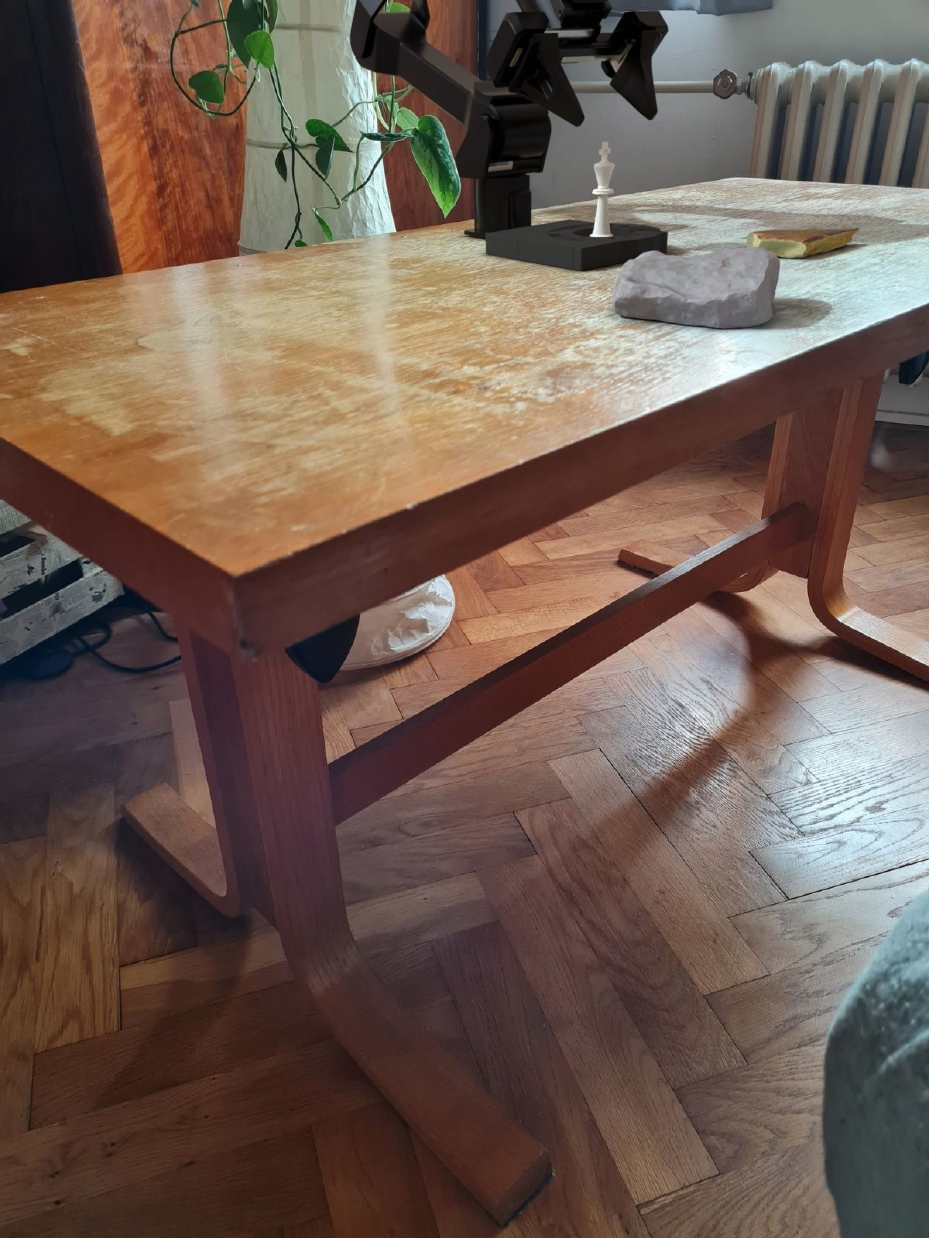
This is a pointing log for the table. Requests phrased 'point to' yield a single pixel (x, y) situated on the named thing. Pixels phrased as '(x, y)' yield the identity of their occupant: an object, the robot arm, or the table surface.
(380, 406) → the table surface
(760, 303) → the stone block
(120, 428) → the table surface
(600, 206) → the chess piece
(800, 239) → the yellow brown flat wedge
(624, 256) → the socket pad
